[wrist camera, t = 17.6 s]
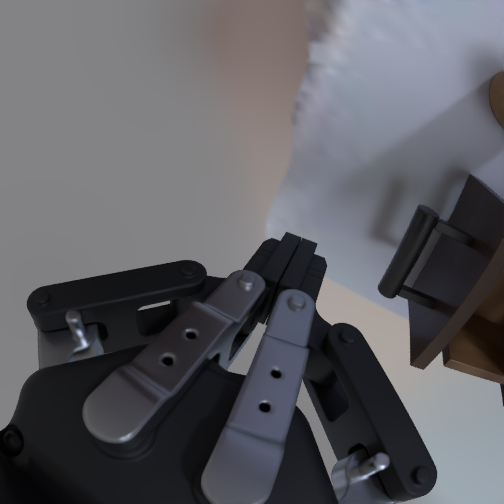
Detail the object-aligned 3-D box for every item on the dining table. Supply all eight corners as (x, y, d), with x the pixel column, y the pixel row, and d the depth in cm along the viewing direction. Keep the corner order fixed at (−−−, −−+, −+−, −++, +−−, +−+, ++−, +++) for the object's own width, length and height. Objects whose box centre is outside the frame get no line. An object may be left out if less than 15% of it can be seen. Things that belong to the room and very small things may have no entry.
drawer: (365, 277, 22) (355, 346, 16) (420, 147, 16) (450, 175, 9) (504, 335, 18) (519, 397, 12) (565, 244, 12) (605, 296, 5)
